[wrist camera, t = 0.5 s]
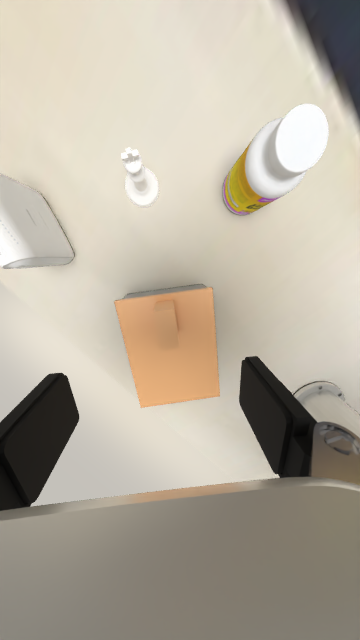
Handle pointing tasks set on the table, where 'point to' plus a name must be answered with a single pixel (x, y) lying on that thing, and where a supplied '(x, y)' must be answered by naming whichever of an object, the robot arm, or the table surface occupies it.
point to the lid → (171, 345)
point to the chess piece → (139, 180)
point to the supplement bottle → (276, 159)
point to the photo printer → (29, 229)
